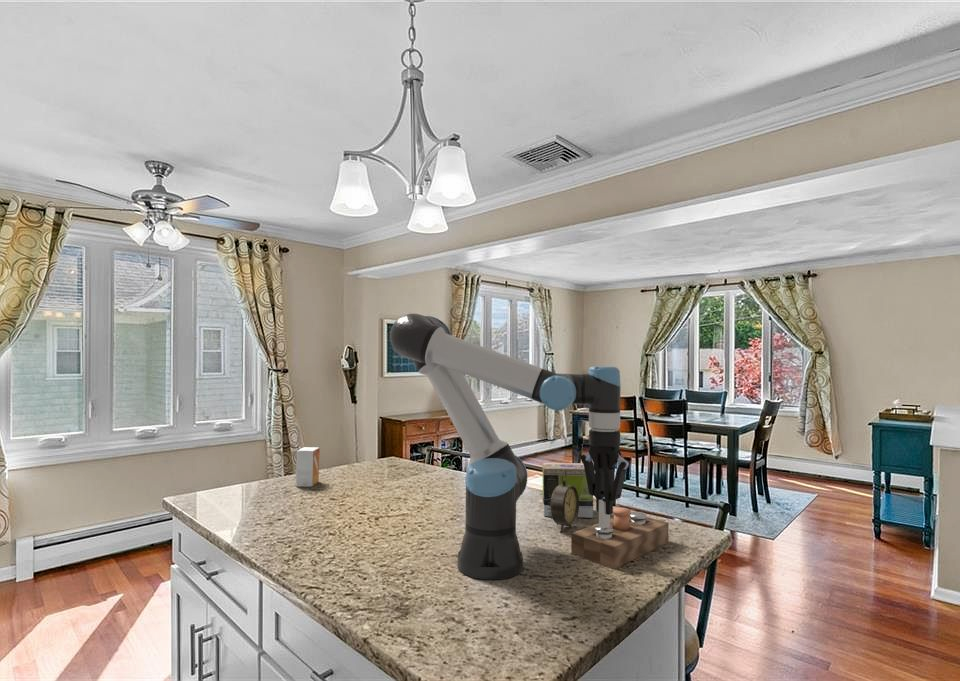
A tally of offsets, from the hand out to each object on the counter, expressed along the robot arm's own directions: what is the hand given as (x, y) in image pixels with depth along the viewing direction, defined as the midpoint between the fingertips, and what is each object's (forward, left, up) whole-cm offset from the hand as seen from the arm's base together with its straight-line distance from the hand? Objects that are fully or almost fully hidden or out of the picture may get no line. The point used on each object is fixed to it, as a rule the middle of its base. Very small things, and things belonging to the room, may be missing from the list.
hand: (604, 526), depth 124 cm
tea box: (+21, +27, -7) cm, 35 cm away
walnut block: (+8, 0, -7) cm, 11 cm away
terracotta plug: (+8, 0, -3) cm, 8 cm away
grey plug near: (0, 0, -5) cm, 5 cm away
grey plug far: (+16, 0, -5) cm, 17 cm away
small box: (-24, +112, -7) cm, 115 cm away
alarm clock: (+9, +19, -7) cm, 22 cm away
